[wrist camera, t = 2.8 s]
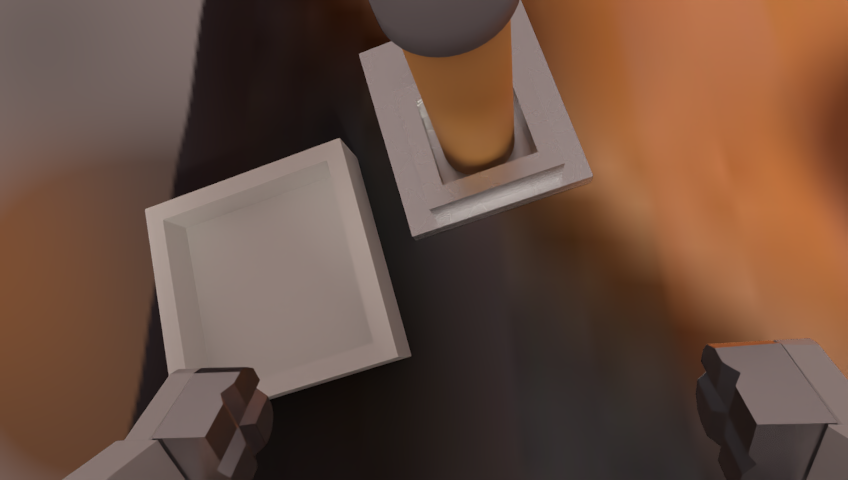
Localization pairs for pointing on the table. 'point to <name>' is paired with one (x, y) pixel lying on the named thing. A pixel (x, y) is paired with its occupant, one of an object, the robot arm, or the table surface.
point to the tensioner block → (491, 189)
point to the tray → (277, 274)
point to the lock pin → (459, 72)
